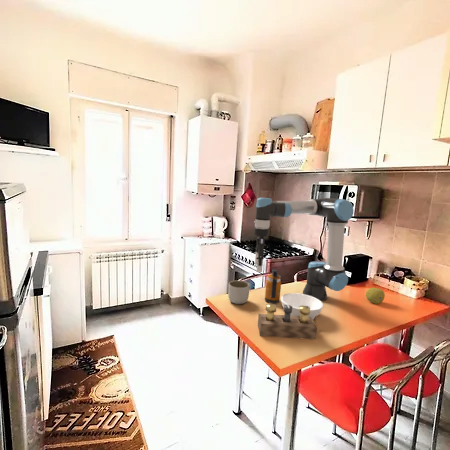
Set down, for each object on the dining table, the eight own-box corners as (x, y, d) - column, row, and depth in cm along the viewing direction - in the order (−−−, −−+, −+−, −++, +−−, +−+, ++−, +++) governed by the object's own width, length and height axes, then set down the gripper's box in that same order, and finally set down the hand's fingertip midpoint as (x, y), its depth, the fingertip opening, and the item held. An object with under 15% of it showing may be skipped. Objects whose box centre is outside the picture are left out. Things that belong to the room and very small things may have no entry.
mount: (309, 328, 135) (310, 317, 135) (315, 339, 125) (317, 327, 125) (257, 324, 136) (258, 313, 135) (259, 335, 126) (260, 323, 125)
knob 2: (306, 324, 132) (308, 305, 131) (309, 329, 128) (311, 310, 126) (296, 323, 132) (298, 305, 131) (299, 328, 128) (301, 309, 126)
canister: (278, 298, 170) (281, 267, 167) (280, 306, 159) (283, 273, 157) (264, 297, 171) (266, 266, 168) (265, 304, 160) (267, 272, 157)
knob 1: (273, 321, 132) (275, 303, 131) (275, 326, 128) (277, 308, 126) (264, 321, 132) (265, 303, 131) (265, 326, 128) (267, 307, 126)
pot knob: (289, 323, 132) (291, 304, 131) (291, 327, 128) (293, 308, 127) (281, 322, 132) (283, 303, 131) (283, 326, 128) (284, 307, 127)
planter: (244, 296, 170) (245, 280, 168) (251, 305, 158) (252, 287, 157) (225, 297, 166) (226, 280, 165) (231, 306, 155) (232, 288, 153)
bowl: (276, 305, 161) (277, 291, 160) (314, 307, 160) (316, 294, 159) (283, 324, 138) (285, 308, 137) (327, 327, 138) (329, 311, 137)
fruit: (387, 305, 171) (389, 289, 169) (374, 306, 167) (376, 291, 166) (373, 298, 180) (375, 284, 179) (361, 300, 177) (363, 285, 175)
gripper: (253, 224, 152) (250, 260, 154) (255, 231, 127) (252, 274, 130) (266, 225, 151) (263, 262, 154) (272, 232, 127) (267, 275, 129)
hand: (258, 267), depth 142 cm, fingers open, 13 cm apart
